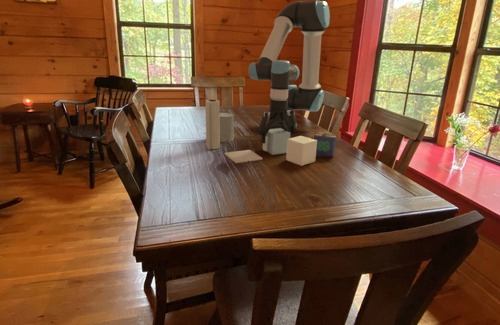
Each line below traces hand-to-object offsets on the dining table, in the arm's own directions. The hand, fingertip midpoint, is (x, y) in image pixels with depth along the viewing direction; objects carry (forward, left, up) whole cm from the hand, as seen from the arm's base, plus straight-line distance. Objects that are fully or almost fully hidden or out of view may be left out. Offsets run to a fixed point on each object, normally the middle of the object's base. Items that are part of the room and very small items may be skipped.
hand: (276, 148), depth 146 cm
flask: (-16, +13, -1) cm, 21 cm away
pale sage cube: (0, 0, -1) cm, 1 cm away
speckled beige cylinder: (+15, -25, -1) cm, 29 cm away
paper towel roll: (+25, -14, -1) cm, 29 cm away
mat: (+17, +2, -1) cm, 17 cm away
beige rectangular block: (-3, +15, -1) cm, 15 cm away
